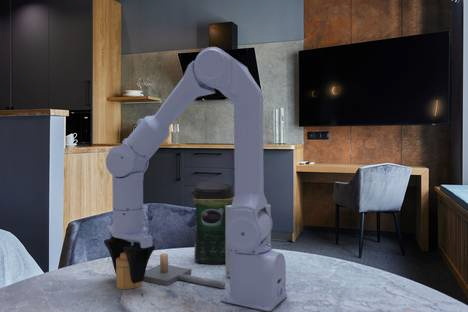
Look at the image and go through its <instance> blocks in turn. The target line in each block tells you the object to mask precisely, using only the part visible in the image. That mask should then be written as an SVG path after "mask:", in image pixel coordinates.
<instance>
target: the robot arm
mask: <svg viewBox="0 0 468 312" xmlns="http://www.w3.org/2000/svg"><path fill="white" fill-rule="evenodd" d="M186 67H187V68H186V70H185V71H184V75H183V76H182V78H181V79H180V81H179V82H178V83H177V84H176V85H175V87H174V89H173V90H172V91H171V93H170V94H169V95H168V97H167V98H166V99H165V101H164V102H163V103H162V105H161V106H160V107H159V109H158V110H157V111H156V113H154V115H147V116H144V117H143V118H139V119H138V120H137V122H136V125H137V126H136V127H135V128H134V129H133V131H132V132H131V133H130V134H129V136H128V137H127V138H125V137H124V139H123V140H122V142H121V143H122V144H119V145H115V146H112V147H111V148H110V149H109V151H108V153H107V154H106V158H105V166H106V170H108V172H109V174H110V175H112V180H111V181H112V186H111V187H112V224H111V225H107V228H106V229H107V231H106V232H107V233H106V235H107V236H108V237H110V238H107V239H103V244H104V245H105V247H106V248H107V251H108V253H109V255H110V258H111V262H112V265H113V270H114V273H115V274H116V258H118V257H120V253H122V252H125V254H126V256H127V259H128V263H129V268H130V277H131V281H132V283H138V282H141V281H142V282H144V281H143V279H144V275H145V271H146V270H147V266H148V263H149V260H150V257H151V255H152V253H154V250H155V246H156V245H155V244H153V236H152V235H150V234H149V233H148V232H149V227H144V175H145V172H146V171H147V170H148V167H149V163H150V161H149V160H150V159H151V158H152V156H154V154H155V153H157V151H158V149H159V148H160V147H161V146H162V145H163V144H164V143H165V142H166V140H168V138H169V136H170V126H171V125H172V124H173V123H174V122H175V121H176V120H177V119H178V118H179V117H180V116H181V115H182V114H183V113H184V112H185V110H187V108H188V107H189V106H190V105H191V104H193V102H194V101H195V100H196V99H198V97H199V98H200V97H203V96H208V95H214V94H216V90H218V91H219V92H220V93H221V94H222V95H223V96H224V97H226V98H227V99H228V100H229V101H230V102H231V103H232V104H233V129H234V130H233V131H234V132H233V135H234V136H233V138H234V140H233V142H234V143H233V147H234V149H233V150H234V151H233V152H234V157H233V158H234V199H233V202H232V205H231V216H230V220H229V222H228V224H227V226H226V231H225V234H226V239H227V241H228V243H229V244H230V277H229V292H228V293H225V294H224V295H223V296H221V297H220V301H221V302H224V303H227V304H232V305H237V306H241V307H245V308H251V309H255V310H259V311H265V312H271V311H272V310H274V308H275V307H277V306H278V305H279V304H280V303H281V302H282V301H283V300H285V299H286V298H287V297H288V293H287V292H286V291H287V290H286V288H287V286H286V283H287V282H286V281H287V280H286V278H287V277H286V273H287V272H286V271H287V269H286V267H287V266H286V265H287V264H286V259H285V255H284V254H283V253H282V252H279V251H276V250H273V249H272V243H271V244H270V243H269V241H268V239H267V236H268V235H269V234H270V233H271V232H272V230H273V224H274V223H273V219H272V215H271V216H270V214H269V212H268V209H267V205H268V200H267V198H266V195H265V193H264V191H265V190H264V185H265V184H264V183H265V181H264V174H265V173H264V94H263V92H262V90H261V88H260V86H259V85H258V84H257V82H256V81H255V79H254V77H253V76H252V75H251V73H250V71H249V68H248V66H246V65H244V64H243V63H242V62H240V61H238V59H235V58H234V57H233V56H231V55H230V54H229V53H227V52H225V51H224V50H223V49H221V48H219V47H216V46H210V47H206V48H203V49H202V50H201V51H200V52H199V53H198V54H197V55H196V58H195V60H192V61H191V62H190V63H189V64H188V65H187V66H186ZM271 234H272V233H271Z"/></svg>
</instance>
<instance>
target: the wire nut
mask: <svg viewBox="0 0 468 312" xmlns="http://www.w3.org/2000/svg"><path fill="white" fill-rule="evenodd" d="M115 281H116V283H115V287H116V288H117V289H121V290H128V289H127V288H134V289H137V288H139V287H142V285H143V281H141V282H138V283H132V281H131V277H130V268H129V263H128V259H127V256H126V254H125V252H122V253H120V257H118V258H116V273H115ZM136 287H137V288H136ZM124 288H125V289H124Z"/></svg>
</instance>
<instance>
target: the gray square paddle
mask: <svg viewBox="0 0 468 312" xmlns="http://www.w3.org/2000/svg"><path fill="white" fill-rule="evenodd" d="M159 260H160V261H159V264H157V265H156V266H153V267H151V268H149V269H146V271H145V275H144V279H143V281H142V282H148V283H152V284H156V285H162V286H166V287H167V286H170V285H173V284H175V283H176V282H178V281H184V282H188V283H195V284H199V285H203V286H207V287H209V286H210V287H214V288H218V289H219V288H220V289H224V288H225V287H226V283H225V282H224V281H223V280H217V279H211V278H204V277H201V276H200V277H199V276H194V275H192V268H187V267H181V266H176V265H169V254H167V253H162V254H160V255H159Z"/></svg>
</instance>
